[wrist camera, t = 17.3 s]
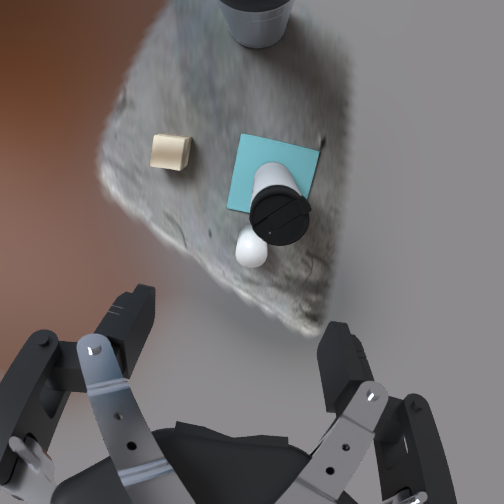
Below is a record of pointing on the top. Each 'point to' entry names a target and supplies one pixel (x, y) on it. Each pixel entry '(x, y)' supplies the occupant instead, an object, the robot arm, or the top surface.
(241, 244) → the white plastic capsule
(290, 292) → the top surface
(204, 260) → the top surface
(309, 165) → the teal mat
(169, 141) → the birch block
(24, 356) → the robot arm
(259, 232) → the travel mug
